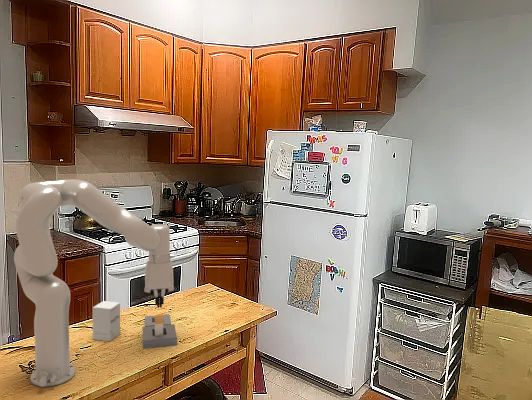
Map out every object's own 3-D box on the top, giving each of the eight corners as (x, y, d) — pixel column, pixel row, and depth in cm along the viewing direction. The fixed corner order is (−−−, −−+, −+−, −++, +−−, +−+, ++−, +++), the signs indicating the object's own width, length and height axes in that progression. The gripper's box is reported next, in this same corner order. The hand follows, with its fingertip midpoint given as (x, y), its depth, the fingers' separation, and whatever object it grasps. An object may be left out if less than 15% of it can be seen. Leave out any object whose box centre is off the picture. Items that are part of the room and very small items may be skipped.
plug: (163, 341, 162) (163, 318, 160) (154, 342, 161) (154, 319, 160) (162, 336, 165) (162, 314, 164) (154, 337, 165) (154, 314, 163)
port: (176, 345, 159) (176, 337, 159) (142, 348, 156) (142, 340, 155) (174, 331, 170) (174, 324, 170) (142, 334, 167) (142, 326, 167)
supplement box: (110, 341, 160) (109, 309, 159) (92, 339, 162) (91, 306, 160) (121, 333, 167) (120, 302, 166) (103, 331, 169) (103, 300, 167)
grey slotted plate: (171, 328, 173) (171, 323, 173) (145, 330, 170) (145, 326, 170) (169, 318, 183) (169, 314, 182) (144, 320, 180) (144, 316, 179)
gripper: (179, 254, 165) (178, 301, 167) (138, 256, 161) (138, 304, 163) (180, 259, 158) (180, 308, 160) (138, 261, 154) (138, 311, 156)
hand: (159, 306), depth 161 cm, fingers closed
